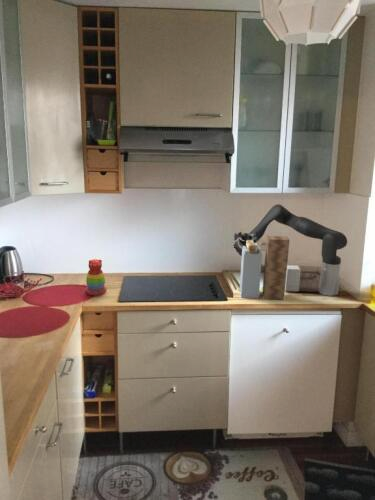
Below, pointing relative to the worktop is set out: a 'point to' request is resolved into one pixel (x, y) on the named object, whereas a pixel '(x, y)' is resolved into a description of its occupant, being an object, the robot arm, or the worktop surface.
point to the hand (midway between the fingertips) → (248, 233)
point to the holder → (250, 273)
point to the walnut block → (275, 267)
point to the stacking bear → (95, 278)
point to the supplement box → (292, 278)
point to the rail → (251, 247)
